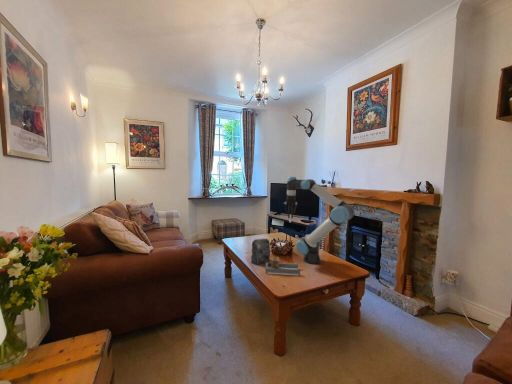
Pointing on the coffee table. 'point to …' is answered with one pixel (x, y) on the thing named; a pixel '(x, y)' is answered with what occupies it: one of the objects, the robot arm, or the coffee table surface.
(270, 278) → the coffee table surface
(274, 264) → the walnut block
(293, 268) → the chute
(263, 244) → the stone block
